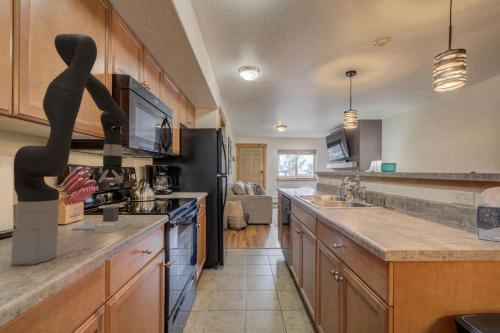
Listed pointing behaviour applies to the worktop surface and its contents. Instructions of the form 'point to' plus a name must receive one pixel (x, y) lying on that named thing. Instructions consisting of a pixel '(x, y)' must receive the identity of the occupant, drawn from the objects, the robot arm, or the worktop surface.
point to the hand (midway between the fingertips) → (111, 191)
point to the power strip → (113, 224)
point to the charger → (110, 214)
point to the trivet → (85, 227)
